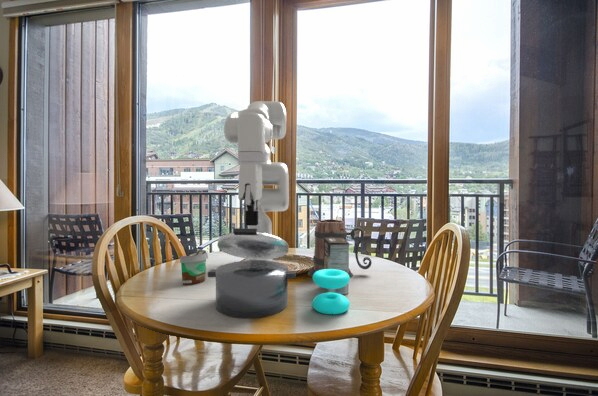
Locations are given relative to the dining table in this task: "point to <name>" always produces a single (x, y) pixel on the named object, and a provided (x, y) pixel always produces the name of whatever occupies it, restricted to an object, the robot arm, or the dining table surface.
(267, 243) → the pot lid
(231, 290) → the cooking pot
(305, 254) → the dining table surface
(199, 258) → the food container
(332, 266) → the coffee box
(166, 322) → the dining table surface
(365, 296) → the dining table surface
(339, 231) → the tankard
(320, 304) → the donuts
